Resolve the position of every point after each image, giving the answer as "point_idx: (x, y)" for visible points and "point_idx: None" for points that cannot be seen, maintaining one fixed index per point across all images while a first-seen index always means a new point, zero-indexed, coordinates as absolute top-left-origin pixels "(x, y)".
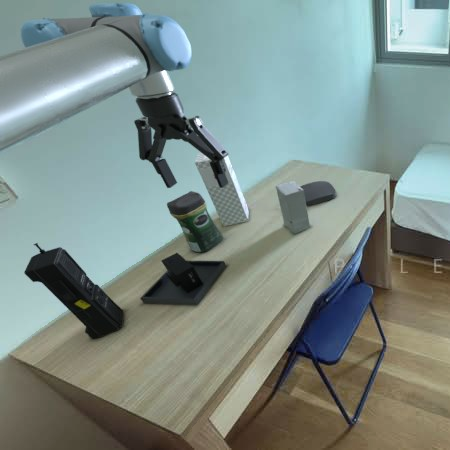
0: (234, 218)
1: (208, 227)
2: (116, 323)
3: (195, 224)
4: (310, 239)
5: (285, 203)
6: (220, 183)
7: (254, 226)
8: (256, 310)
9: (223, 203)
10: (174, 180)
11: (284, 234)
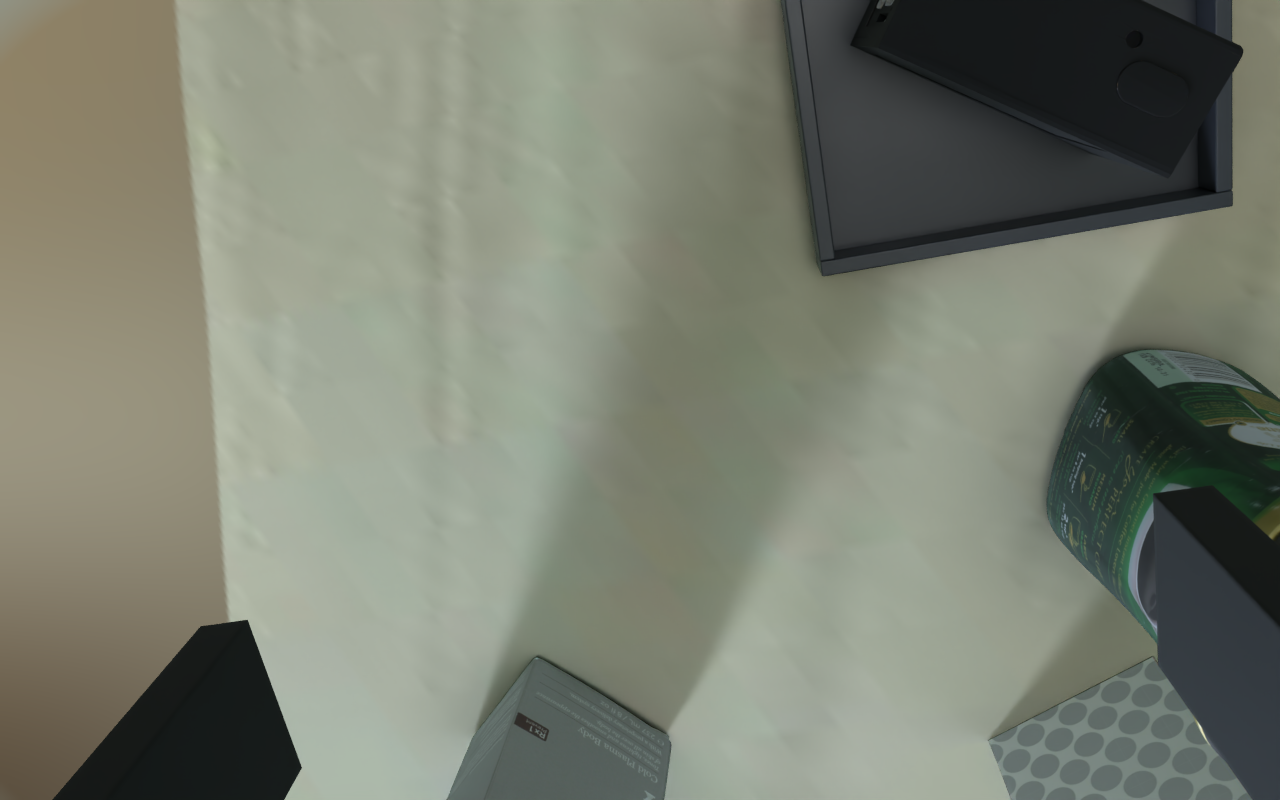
0: (1082, 732)
1: (1115, 531)
2: None
3: None
4: (392, 622)
5: None
6: (169, 671)
7: (897, 690)
8: None
9: None
10: (1185, 675)
11: (609, 642)
